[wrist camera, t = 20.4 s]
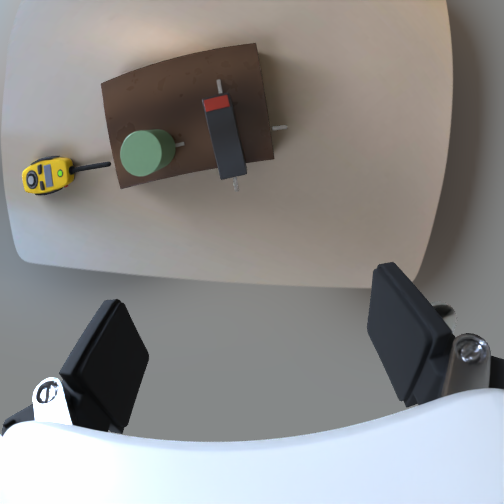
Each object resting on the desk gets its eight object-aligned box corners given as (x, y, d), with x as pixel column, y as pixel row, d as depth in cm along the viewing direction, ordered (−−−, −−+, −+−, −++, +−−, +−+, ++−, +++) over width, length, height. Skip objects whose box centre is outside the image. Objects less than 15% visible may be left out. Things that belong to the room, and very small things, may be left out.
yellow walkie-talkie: (18, 165, 24) (104, 143, 24) (27, 162, 26) (112, 142, 26) (23, 199, 26) (108, 186, 26) (32, 195, 28) (116, 182, 28)
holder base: (289, 177, 29) (294, 183, 26) (136, 204, 29) (126, 212, 27) (270, 49, 22) (272, 40, 20) (112, 86, 23) (99, 83, 20)
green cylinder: (179, 164, 25) (166, 170, 21) (142, 172, 25) (125, 181, 21) (171, 124, 23) (157, 125, 19) (134, 135, 23) (116, 137, 20)
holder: (246, 167, 25) (247, 174, 21) (224, 172, 25) (220, 180, 22) (231, 97, 22) (228, 91, 18) (208, 103, 22) (201, 98, 19)
